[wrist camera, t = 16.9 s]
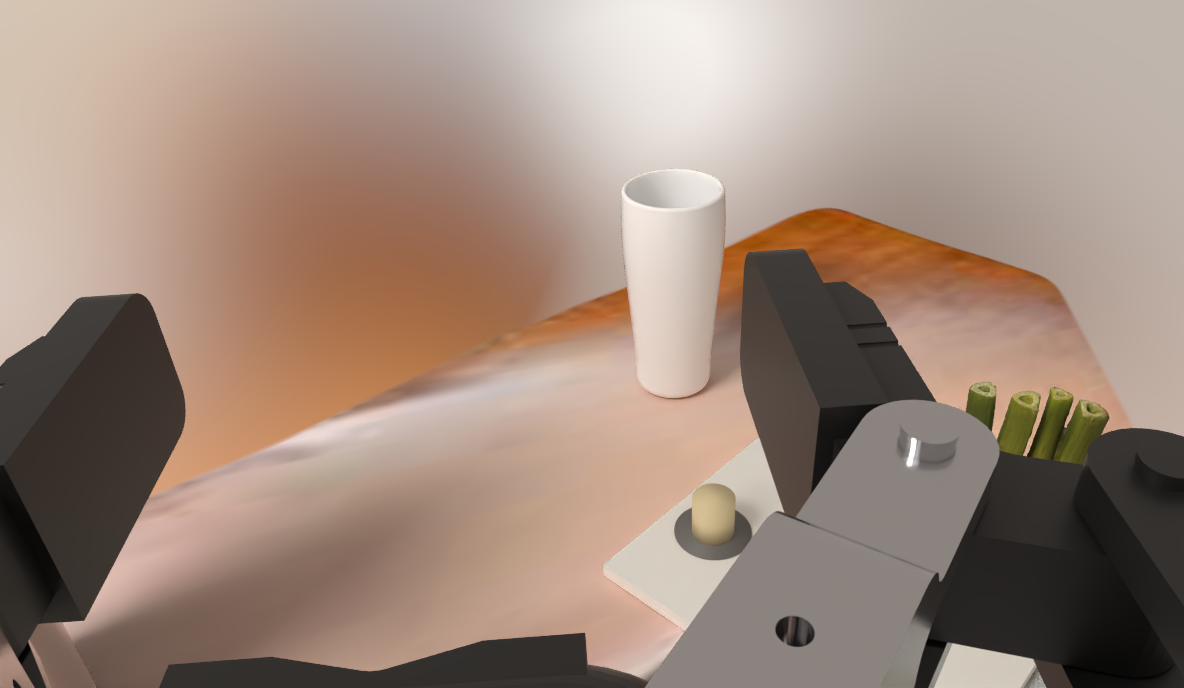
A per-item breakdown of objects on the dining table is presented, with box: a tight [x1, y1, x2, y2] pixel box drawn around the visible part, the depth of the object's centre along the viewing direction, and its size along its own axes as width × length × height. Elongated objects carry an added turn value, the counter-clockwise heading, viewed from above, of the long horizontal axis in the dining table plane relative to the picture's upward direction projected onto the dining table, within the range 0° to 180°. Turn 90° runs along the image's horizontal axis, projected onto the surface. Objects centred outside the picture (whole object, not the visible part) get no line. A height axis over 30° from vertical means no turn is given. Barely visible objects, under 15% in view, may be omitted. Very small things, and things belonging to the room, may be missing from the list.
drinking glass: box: [621, 169, 725, 398], centre depth 62 cm, size 7×7×15 cm
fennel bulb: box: [966, 382, 1110, 464], centre depth 45 cm, size 6×5×12 cm
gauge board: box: [603, 437, 1037, 688], centre depth 50 cm, size 20×20×3 cm
